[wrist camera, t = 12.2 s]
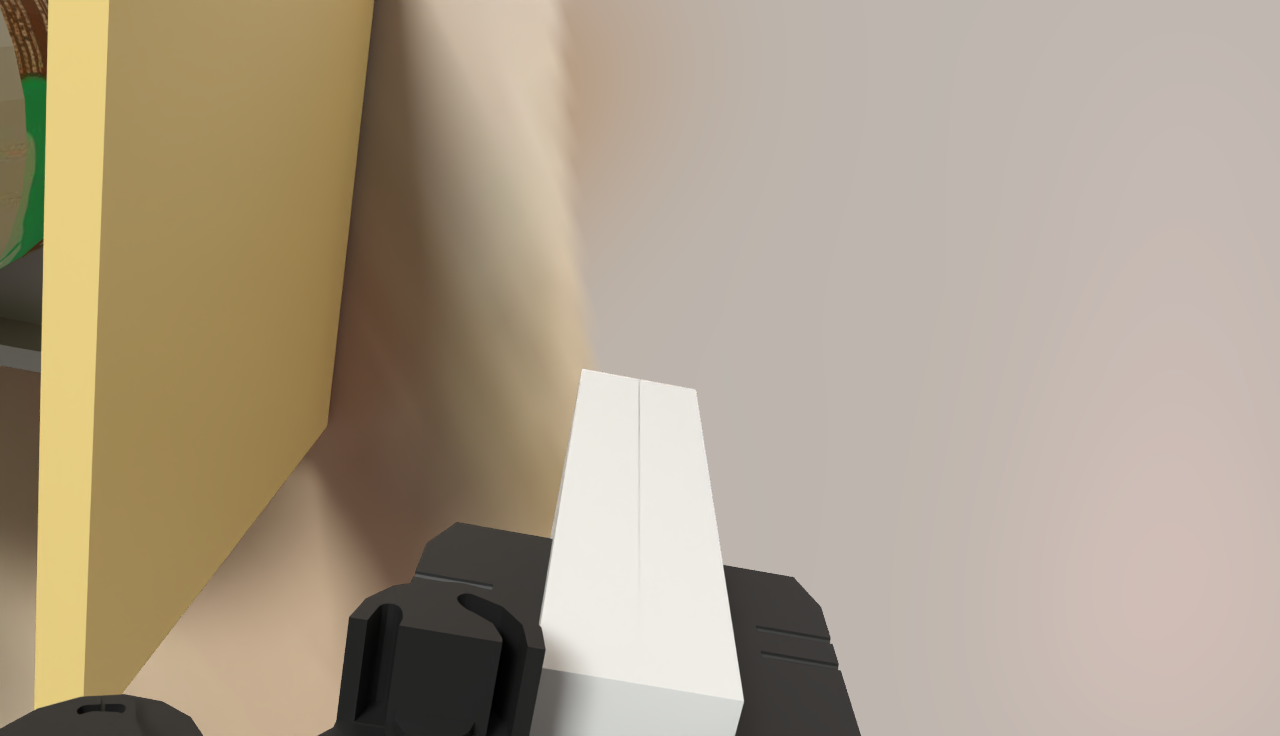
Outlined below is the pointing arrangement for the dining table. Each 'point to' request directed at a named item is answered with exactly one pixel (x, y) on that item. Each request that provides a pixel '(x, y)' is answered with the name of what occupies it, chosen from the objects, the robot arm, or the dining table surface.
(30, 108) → the food container
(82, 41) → the tan boxy piece
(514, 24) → the dining table surface
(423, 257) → the dining table surface
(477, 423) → the dining table surface
